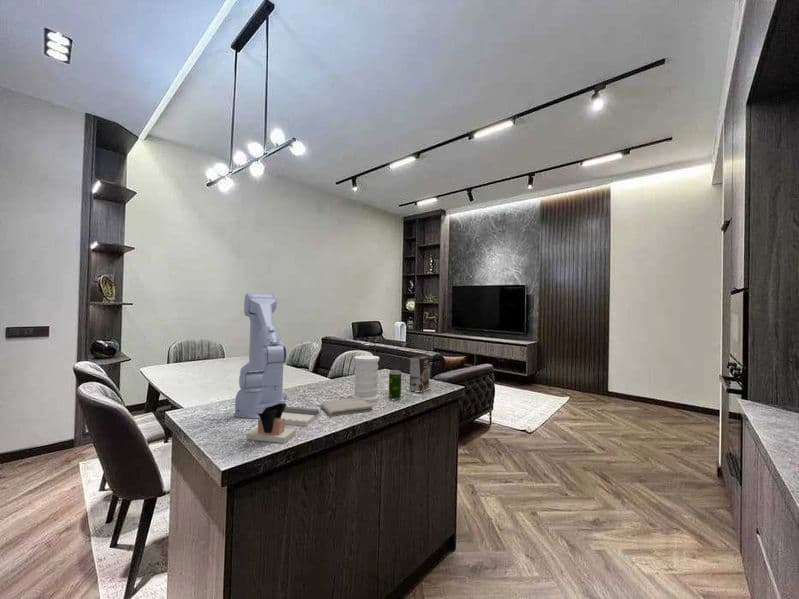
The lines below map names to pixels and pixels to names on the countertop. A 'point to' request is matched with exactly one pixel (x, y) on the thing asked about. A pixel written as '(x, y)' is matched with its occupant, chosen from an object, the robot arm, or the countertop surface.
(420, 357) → the coffee box
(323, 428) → the countertop surface
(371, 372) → the decorative container
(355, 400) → the washcloth
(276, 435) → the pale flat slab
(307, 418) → the ticket board
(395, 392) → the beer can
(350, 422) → the countertop surface
